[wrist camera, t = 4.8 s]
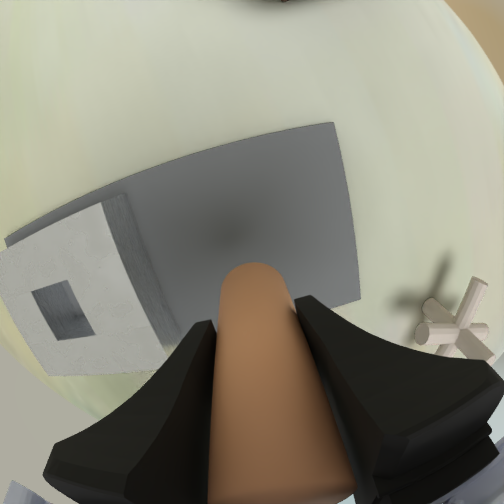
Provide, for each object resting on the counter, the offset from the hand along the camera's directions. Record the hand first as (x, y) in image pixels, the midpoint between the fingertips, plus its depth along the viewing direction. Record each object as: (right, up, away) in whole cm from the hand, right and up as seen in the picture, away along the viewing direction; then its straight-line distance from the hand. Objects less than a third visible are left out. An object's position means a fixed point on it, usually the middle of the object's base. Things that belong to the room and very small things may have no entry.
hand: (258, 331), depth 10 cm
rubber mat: (-8, +2, +10) cm, 13 cm away
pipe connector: (+17, -2, +13) cm, 22 cm away
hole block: (-14, 0, +10) cm, 17 cm away
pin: (0, +1, +3) cm, 3 cm away
